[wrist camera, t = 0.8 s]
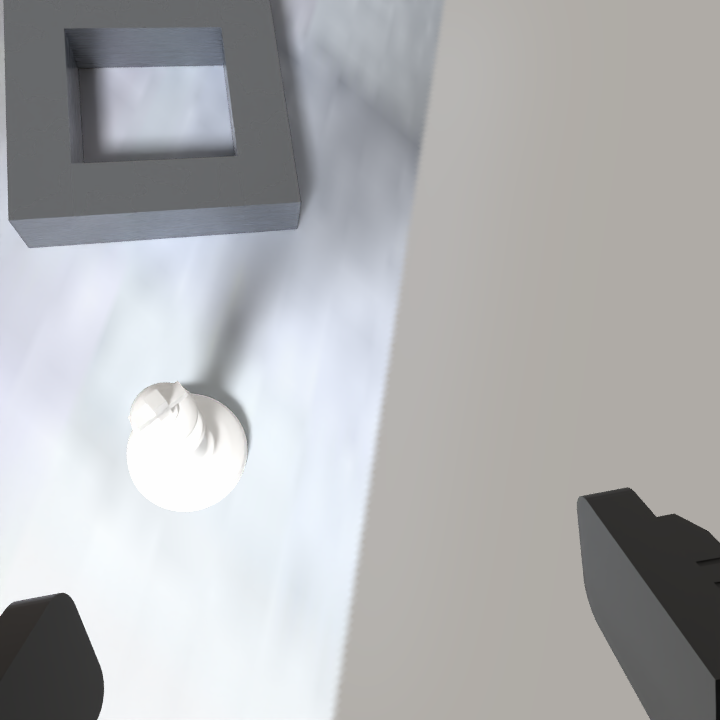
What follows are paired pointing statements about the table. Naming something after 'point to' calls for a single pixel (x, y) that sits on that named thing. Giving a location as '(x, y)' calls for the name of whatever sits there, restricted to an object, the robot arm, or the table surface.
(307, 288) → the table surface
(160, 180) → the grey two-window frame
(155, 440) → the chess piece
